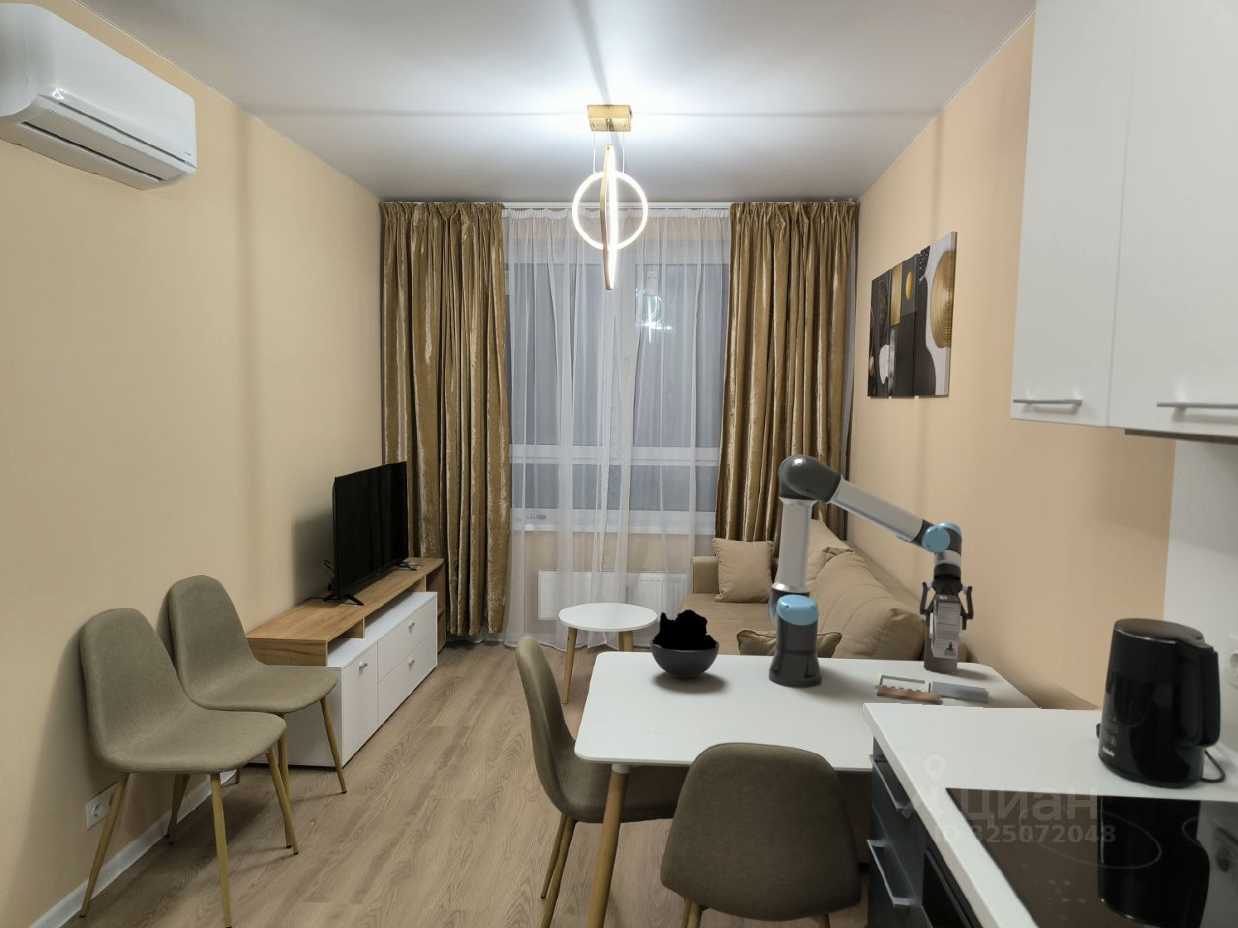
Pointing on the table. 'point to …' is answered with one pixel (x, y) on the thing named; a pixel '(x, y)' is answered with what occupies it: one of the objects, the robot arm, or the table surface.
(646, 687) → the table surface
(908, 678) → the sage stub frame
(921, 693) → the walnut ticket board
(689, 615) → the coal bowl
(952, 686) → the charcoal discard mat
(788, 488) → the robot arm
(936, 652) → the coffee box
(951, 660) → the pillar candle
